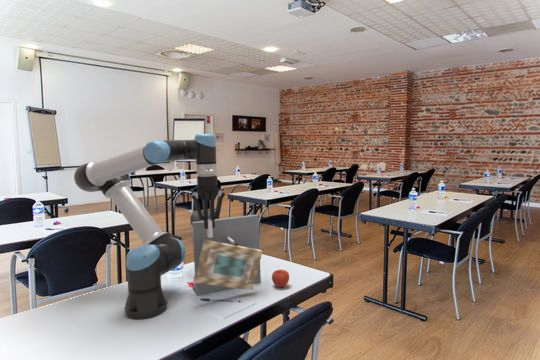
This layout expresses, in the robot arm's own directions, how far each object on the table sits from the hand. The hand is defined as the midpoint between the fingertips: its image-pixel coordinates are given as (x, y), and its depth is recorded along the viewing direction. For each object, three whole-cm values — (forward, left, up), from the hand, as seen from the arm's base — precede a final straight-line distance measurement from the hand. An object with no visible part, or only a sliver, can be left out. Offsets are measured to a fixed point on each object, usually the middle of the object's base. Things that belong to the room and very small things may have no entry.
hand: (209, 236), depth 139 cm
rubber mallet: (+6, +31, -26) cm, 41 cm away
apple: (+30, +1, -26) cm, 40 cm away
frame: (+5, 0, -20) cm, 21 cm away
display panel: (+10, +10, -26) cm, 29 cm away
